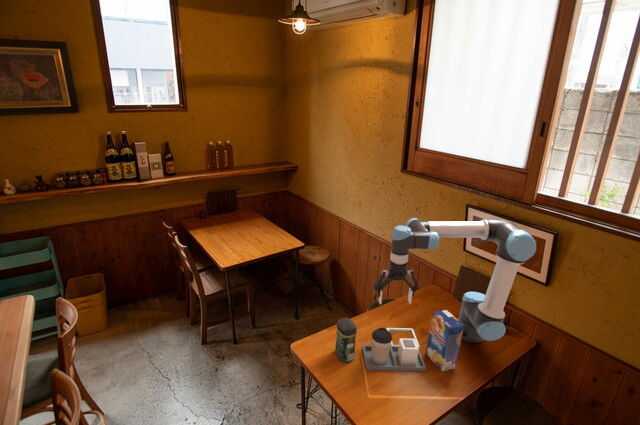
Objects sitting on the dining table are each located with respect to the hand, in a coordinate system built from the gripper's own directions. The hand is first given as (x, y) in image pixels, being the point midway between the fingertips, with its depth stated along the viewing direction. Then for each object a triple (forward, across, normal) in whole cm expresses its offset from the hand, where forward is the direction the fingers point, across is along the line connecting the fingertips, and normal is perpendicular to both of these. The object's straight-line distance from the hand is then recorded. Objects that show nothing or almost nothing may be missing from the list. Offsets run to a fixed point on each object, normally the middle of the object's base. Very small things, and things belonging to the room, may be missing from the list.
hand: (394, 302), depth 160 cm
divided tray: (+27, 0, +7) cm, 28 cm away
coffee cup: (+26, +7, +7) cm, 28 cm away
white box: (+26, -6, +8) cm, 28 cm away
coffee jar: (+26, +22, +4) cm, 35 cm away
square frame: (+27, -8, -7) cm, 29 cm away
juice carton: (+28, -21, +8) cm, 36 cm away
